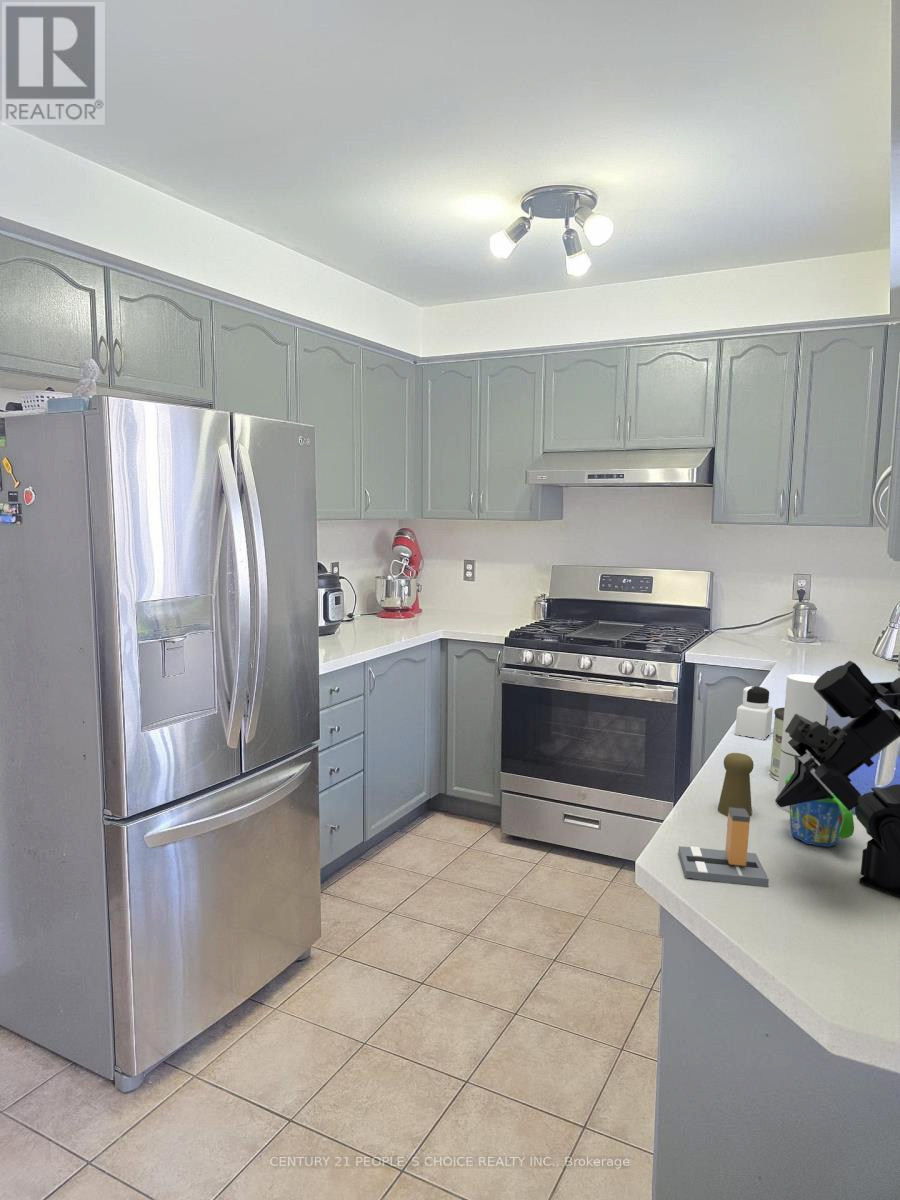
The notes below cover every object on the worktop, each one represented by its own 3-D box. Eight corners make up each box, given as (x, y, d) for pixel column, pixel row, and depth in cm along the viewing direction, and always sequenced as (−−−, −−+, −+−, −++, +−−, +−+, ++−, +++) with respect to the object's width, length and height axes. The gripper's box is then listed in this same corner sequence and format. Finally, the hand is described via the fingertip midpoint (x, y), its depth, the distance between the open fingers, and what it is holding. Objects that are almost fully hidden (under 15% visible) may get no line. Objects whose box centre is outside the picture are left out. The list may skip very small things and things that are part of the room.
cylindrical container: (822, 807, 153) (834, 679, 150) (809, 817, 148) (821, 684, 145) (784, 797, 158) (795, 672, 155) (770, 806, 153) (781, 677, 149)
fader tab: (740, 863, 127) (745, 808, 126) (745, 873, 123) (749, 817, 122) (724, 862, 127) (728, 807, 126) (728, 872, 124) (732, 815, 122)
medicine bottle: (770, 733, 202) (774, 687, 200) (764, 740, 196) (768, 692, 194) (741, 728, 206) (744, 683, 204) (734, 735, 200) (738, 688, 198)
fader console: (755, 860, 129) (755, 852, 129) (768, 886, 120) (768, 878, 120) (678, 853, 131) (678, 845, 131) (685, 878, 122) (686, 870, 122)
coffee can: (830, 779, 169) (836, 714, 167) (808, 790, 162) (814, 722, 160) (783, 766, 176) (788, 704, 175) (760, 776, 170) (765, 711, 168)
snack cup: (871, 858, 131) (877, 799, 130) (809, 859, 130) (815, 799, 129) (819, 820, 146) (824, 766, 145) (764, 821, 145) (768, 766, 144)
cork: (724, 803, 154) (729, 747, 152) (756, 811, 150) (761, 754, 148) (712, 811, 149) (717, 754, 148) (745, 820, 145) (750, 762, 144)
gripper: (806, 686, 129) (730, 747, 132) (844, 716, 111) (754, 786, 114) (854, 737, 129) (776, 797, 132) (899, 775, 111) (808, 844, 114)
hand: (777, 804), depth 123 cm, fingers closed
